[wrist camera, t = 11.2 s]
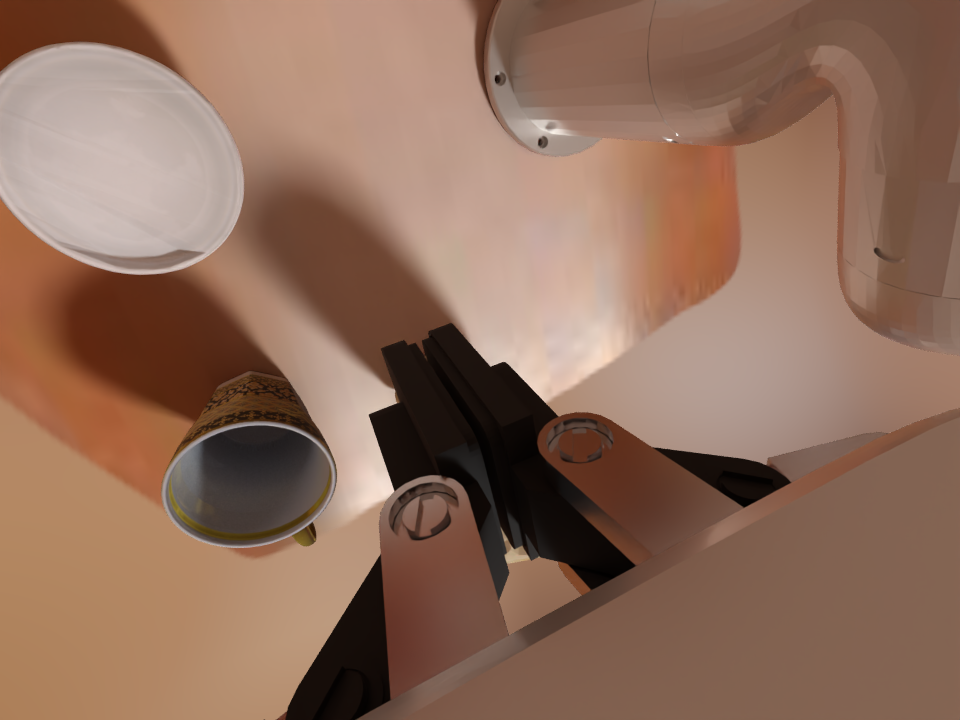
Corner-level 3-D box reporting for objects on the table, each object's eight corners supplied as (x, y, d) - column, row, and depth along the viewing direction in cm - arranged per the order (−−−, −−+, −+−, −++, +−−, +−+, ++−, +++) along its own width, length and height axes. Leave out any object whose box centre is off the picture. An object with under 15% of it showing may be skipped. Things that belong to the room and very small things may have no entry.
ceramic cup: (154, 388, 34) (119, 474, 26) (284, 329, 36) (290, 393, 28) (252, 499, 41) (248, 595, 33) (357, 446, 43) (378, 524, 35)
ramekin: (59, 255, 29) (22, 280, 25) (-12, 39, 24) (-74, 22, 20) (258, 251, 33) (257, 272, 29) (232, 65, 28) (226, 56, 24)
